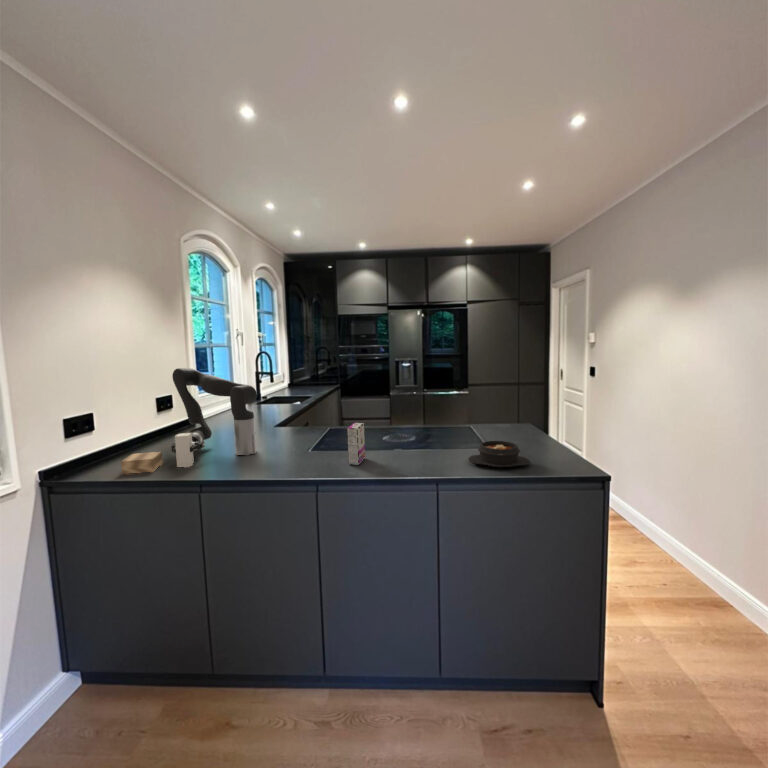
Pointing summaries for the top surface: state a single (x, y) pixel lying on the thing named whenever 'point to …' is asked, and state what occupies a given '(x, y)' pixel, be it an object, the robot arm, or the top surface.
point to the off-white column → (184, 450)
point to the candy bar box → (356, 442)
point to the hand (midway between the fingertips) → (183, 450)
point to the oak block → (141, 462)
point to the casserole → (498, 455)
